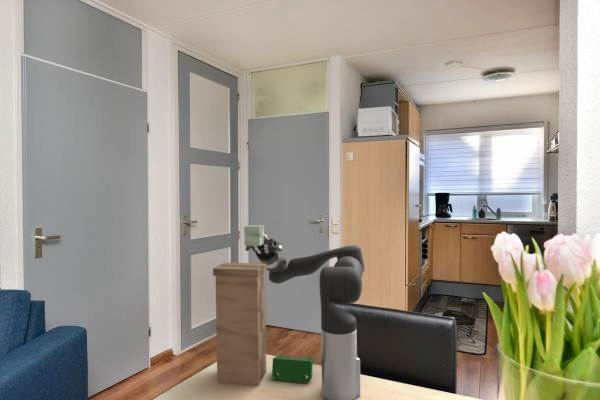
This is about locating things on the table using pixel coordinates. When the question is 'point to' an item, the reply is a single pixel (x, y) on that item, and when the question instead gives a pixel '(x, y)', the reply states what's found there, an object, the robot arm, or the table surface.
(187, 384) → the table surface
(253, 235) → the mint and tan block
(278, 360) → the green box
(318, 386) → the table surface
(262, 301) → the tool tower
